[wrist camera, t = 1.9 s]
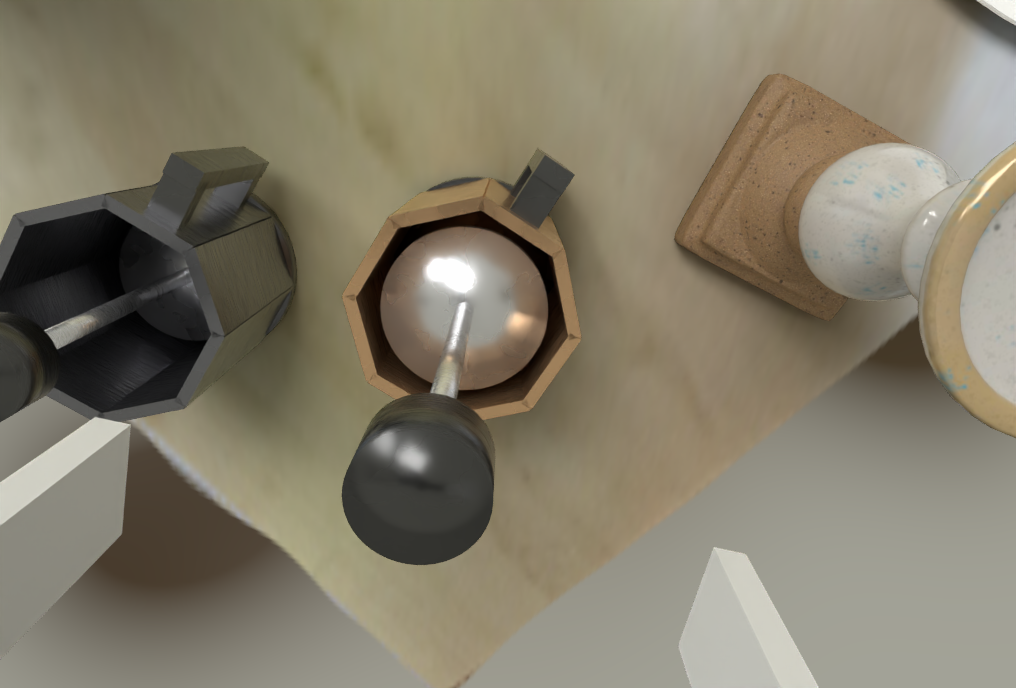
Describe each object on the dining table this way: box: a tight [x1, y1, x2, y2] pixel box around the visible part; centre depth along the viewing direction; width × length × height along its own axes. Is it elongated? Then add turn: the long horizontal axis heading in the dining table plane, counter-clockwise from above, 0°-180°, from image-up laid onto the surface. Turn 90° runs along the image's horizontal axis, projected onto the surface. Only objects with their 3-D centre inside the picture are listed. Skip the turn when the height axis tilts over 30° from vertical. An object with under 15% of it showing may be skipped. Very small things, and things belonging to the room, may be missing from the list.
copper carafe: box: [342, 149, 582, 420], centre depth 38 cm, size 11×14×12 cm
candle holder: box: [674, 74, 1016, 438], centre depth 32 cm, size 11×11×24 cm
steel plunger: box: [0, 225, 211, 422], centre depth 34 cm, size 8×8×19 cm
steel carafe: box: [0, 147, 297, 422], centre depth 38 cm, size 11×14×12 cm
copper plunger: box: [342, 225, 548, 565], centre depth 26 cm, size 8×8×19 cm
